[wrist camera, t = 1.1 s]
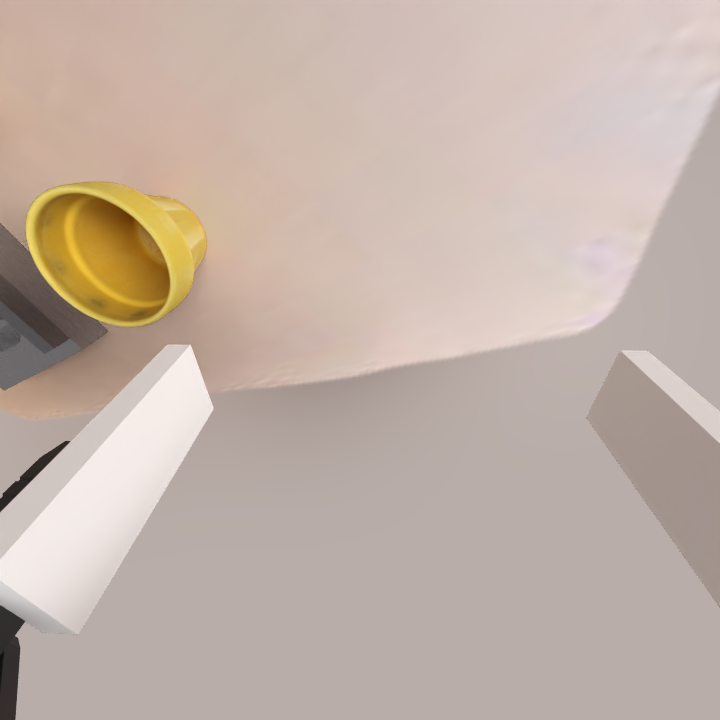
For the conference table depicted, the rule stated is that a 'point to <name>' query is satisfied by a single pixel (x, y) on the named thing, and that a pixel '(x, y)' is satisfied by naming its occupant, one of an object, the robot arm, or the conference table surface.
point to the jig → (35, 318)
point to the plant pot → (115, 250)
